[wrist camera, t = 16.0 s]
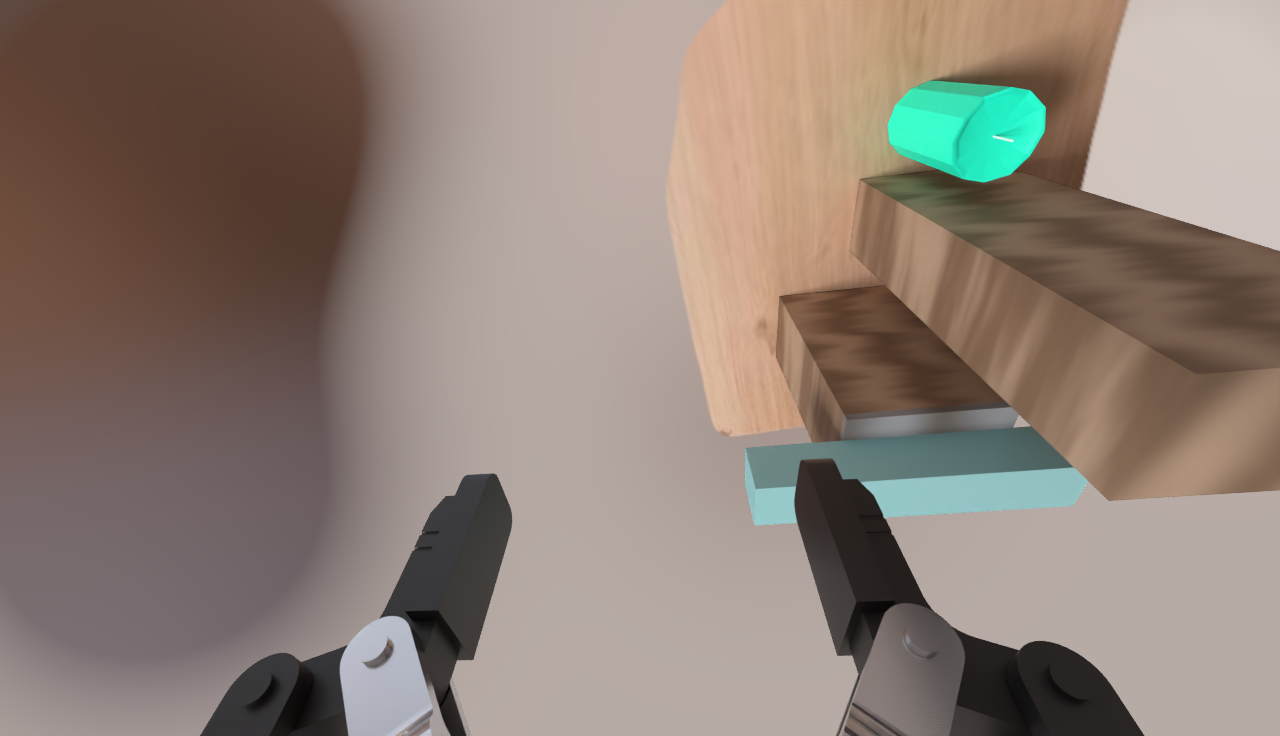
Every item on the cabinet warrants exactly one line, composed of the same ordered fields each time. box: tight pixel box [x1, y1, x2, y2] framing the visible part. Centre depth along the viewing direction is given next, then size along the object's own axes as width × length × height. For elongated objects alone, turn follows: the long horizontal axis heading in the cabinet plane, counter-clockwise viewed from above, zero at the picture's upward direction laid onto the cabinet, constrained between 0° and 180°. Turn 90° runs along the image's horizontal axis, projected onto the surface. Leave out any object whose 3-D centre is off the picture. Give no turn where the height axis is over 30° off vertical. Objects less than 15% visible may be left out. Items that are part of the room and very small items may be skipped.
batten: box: [745, 426, 1088, 525], centre depth 33 cm, size 22×4×4 cm, turn 97°
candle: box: [888, 80, 1046, 182], centre depth 35 cm, size 6×6×12 cm
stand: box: [849, 170, 1280, 501], centre depth 31 cm, size 12×7×32 cm, turn 97°
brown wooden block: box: [776, 286, 1019, 443], centre depth 43 cm, size 12×8×21 cm, turn 97°
